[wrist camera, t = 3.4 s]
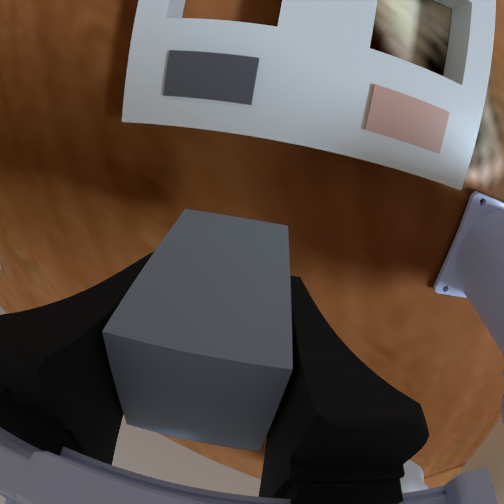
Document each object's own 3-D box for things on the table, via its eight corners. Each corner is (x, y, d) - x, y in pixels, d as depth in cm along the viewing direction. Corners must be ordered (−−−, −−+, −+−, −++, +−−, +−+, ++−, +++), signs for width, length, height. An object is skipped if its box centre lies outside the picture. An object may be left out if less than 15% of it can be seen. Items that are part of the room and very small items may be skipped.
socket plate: (475, -11, 10) (497, -19, 8) (442, 178, 17) (462, 191, 15) (178, -80, 10) (165, -98, 8) (140, 117, 17) (119, 122, 15)
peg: (288, 225, 12) (292, 369, 6) (269, 307, 14) (259, 451, 8) (185, 209, 12) (102, 331, 6) (181, 291, 14) (126, 423, 8)
